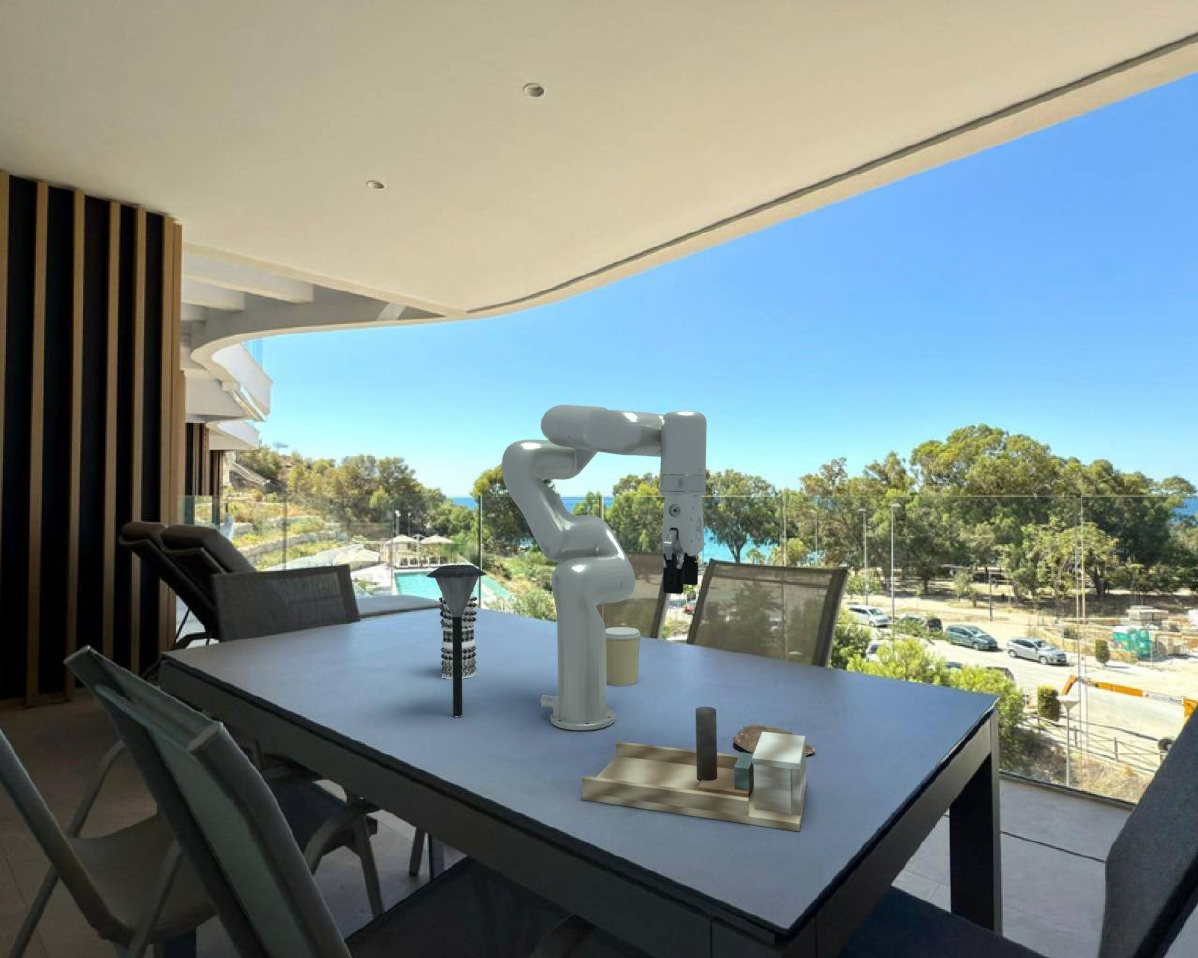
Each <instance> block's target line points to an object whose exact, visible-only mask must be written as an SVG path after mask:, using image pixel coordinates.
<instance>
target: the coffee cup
mask: <svg viewBox="0 0 1198 958" xmlns="http://www.w3.org/2000/svg"><path fill="white" fill-rule="evenodd" d="M605 629H606V678H607V685H610V686H619V687H625V686H632V685H635V684H637V683H638V680H639V667H640V664H639V662H640V645H641V638H640V637H641V632H640V630H639V629H638V628H635V627H627V626H626V627H625V626H620V627H619V626H617V627H616V626H615V627H608V628H605Z"/></svg>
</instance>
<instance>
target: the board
mask: <svg viewBox="0 0 1198 958" xmlns="http://www.w3.org/2000/svg"><path fill="white" fill-rule="evenodd" d="M805 744H806V736H805V735H797V734H792V735H789V734H780V733H770V732H762V733H761V736H760V739H759V741H758V744H757V746H756V749H755V752H754V754H753V757H752V764H754V786H753V789H752V791H751V794H750V797H749V798H746V797H739V796H731V795H724V794H716V793H709V792H702V791H698V786H699V784H700V781H698V780H697V764H696V749H685V748H680V747H679V748H678V747H671V746H670V747H669V746H661V745H651V744H643V743H636V742H635V743H633V742H626V741H625V742H624V741H617V742H616V743H615V755H616V756H614V757H613V758H612V759H611V761H610V762H609V763H608V764H607V765H606V766H605V768H603V770H602V771H601V772H600V773H599V774H598V775H597V776H590V775H584V776H583V777H582V779H581V781H582V800H583V801H584V800H585V801H590V802H597V803H598V802H599V803H603V804H612V805H618V806H622V807H623V806H624V807H631V808H637V809H638V808H639V809H645V810H652V811H656V812H657V811H658V812H663V813H664V812H665V813H671V814H677V815H678V814H679V815H685V816H691V817H692V816H693V817H699V818H706V819H711V820H712V819H713V820H719V821H727V822H732V823H738V824H739V823H740V824H745V825H753V826H759V827H766V828H772V829H779V830H780V829H781V830H787V831H793V832H800V831H801V830H800V829H801V823H802V819H803V818H802V817H803V811H804V805H805V800H806V793H807V787H808V776H807V767H806V765H807V764H806V757H805ZM739 755H740V754H731V753H730V754H729V753H723V752H721V753H720V752H717V767H719V768H728V769H734V767H735V764H736V762H737V760H738V757H739Z"/></svg>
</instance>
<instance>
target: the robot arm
mask: <svg viewBox="0 0 1198 958" xmlns="http://www.w3.org/2000/svg"><path fill="white" fill-rule="evenodd" d="M540 420H541V421H540V429H541V433H542V435H543V436H544V438H545V439H522V440H521V439H520V440H517V441H514V442H513V443H511V444H509V445H508V446H507V447H506V448H505V450H504V452H503V454H502V457H501V458H502V459H501V474H502V479H503V483H504V485H505V489H506V490H507V493H508V495H509V496H510V497H511V499H512V501H513V502H514V503H515V505H516V506H517V507H518V509H519V510H520V512H521V513H522V515H523V517H524V518H525V520H526V522H527V525H528V528H529V529H530V531H531V533H532V536H533V537H534V539H535V540H536V541H535V542H536V543H537V545H538V547H539V548H540V551H541V553H542V554H543V556H544V557H545V559H547V560H548V561H550V562H552V563H553V562H554V563H559V564H558V565H557V566H556V567H555V569H554V570H553V572H552V575H551V589H552V595H553V596H552V597H553V600H554V607H555V611H556V631H557V637H556V640H557V691H558V692H557V694H555V696H553V695H549V694H548V695H547V694H542V695H541V697H540V699H539V701H540V707H541V708H544V709H545V708H546V709H551V710H553V711H552V713H551V714H550V716H549V719H550V720H549V721H550V723H551V724H552V725H553V726H555V727H557V728H560V729H563V730H570V731H593V730H598V729H602V728H606V727H608V726H611V725H612V724H613V723H615V721H616V712H615V711H613V710H612V709H610V708H608V701H607V700H608V696H607V695H608V694H607V692H608V690H607V689H608V688H607V687H608V686H607V685H608V684H607V678H606V629H607V628H606V625H605V622H604V620H603V618H602V615H600V612H599V611H598V608H597V606H599V605H600V606H601V605H606V604H611V603H612V604H613V603H618V602H622V601H625V600H627V599H628V598H630V597H631V596H632V594H633V593H634V590H635V587H636V575H635V571H634V568H633V565H632V563H631V561H630V560H629V557H628V556H627V555H626V553H625V550H624V549H623V548H622V546H621V544H620V542H619V540H618V539H617V537H616V535H615V533H614V531H613V530H612V529H611V527H610V526H609V524H608V523H607V522H606V521H605V520H604V519H602V518H601V517H599V516H597V515H590V514H586V515H585V514H584V515H583V514H577V515H575V514H572V513H570V512H569V511H568V509H567V508H566V507H565V505H564V503H563V500H562V498H561V497H560V496H559V495H558V494H557V492H556V491H555V490H554V489H552V488H551V487H550V486H549V485H547V484H546V483H545V482H544V481H542V480H559V481H560V480H562V481H563V480H570V479H573V478H575V477H577V476H578V475H579V474H580V473H581V472H582V471H583V470H584V469H585V468H586V466H588V464H589V463H590V462H591V461H592V460H593V458H595V456H596V455H597V454H598V453H605V454H612V455H620V456H639V457H640V456H641V457H643V456H644V457H657V458H658V457H660V469H659V470H660V472H659V474H660V478H659V479H660V480H659V481H660V482H659V483H660V484H659V489H660V491H659V495H664V501H663V511H662V512H663V514H662V534H661V535H662V537H661V538H662V540H661V543H662V544H661V545H662V546H661V547H662V552H663V553H664V554H663V555H662V556H663V563H662V565H663V576H662V577H663V580H662V583H663V584H662V591H663V593H665V594H674V595H675V594H677V595H681V594H683V593H684V586H697V585H698V584H699V554H700V553H701V552H702V551H703V550H704V548H705V531H704V530H705V529H704V508H703V497H702V496H706V485H707V484H706V482H707V481H706V480H707V479H706V477H707V475H706V474H707V473H706V471H707V418H706V416H705V415H704V414H703V413H701V412H699V411H689V410H683V411H682V410H681V411H680V410H679V411H678V410H676V411H675V410H674V411H669V412H666V413H665V414H662V413H653V412H645V411H643V412H642V411H633V410H631V411H630V410H621V409H620V410H618V409H617V410H616V409H608V408H607V407H604V406H590V405H589V406H587V405H577V404H576V405H574V404H559V405H556V406H553V407H550V408H549V409H548V410H547V411H546V412H545V413H544V414H543V416H542V418H541V419H540Z"/></svg>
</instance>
